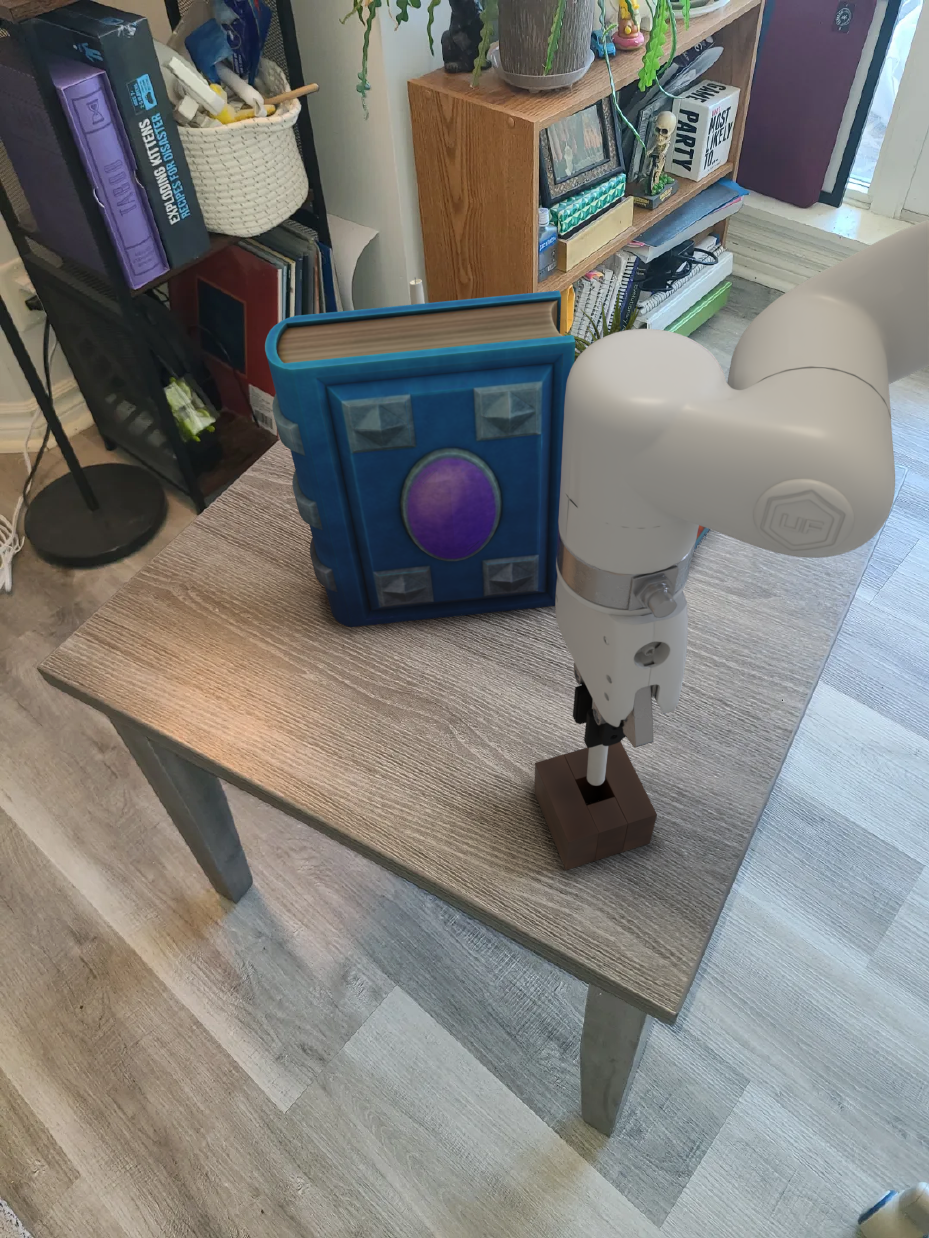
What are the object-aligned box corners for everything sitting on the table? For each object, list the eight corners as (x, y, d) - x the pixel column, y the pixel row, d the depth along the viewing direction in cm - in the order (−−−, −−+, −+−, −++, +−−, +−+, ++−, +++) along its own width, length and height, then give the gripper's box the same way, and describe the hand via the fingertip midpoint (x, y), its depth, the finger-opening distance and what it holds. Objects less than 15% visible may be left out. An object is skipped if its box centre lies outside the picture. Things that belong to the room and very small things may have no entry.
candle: (397, 391, 114) (383, 278, 102) (427, 373, 116) (416, 260, 104) (425, 408, 112) (413, 294, 100) (455, 390, 114) (447, 275, 102)
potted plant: (617, 522, 97) (634, 364, 82) (505, 484, 102) (502, 328, 87) (661, 455, 104) (685, 297, 88) (554, 422, 109) (559, 267, 93)
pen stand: (614, 768, 78) (619, 737, 74) (650, 843, 73) (657, 814, 69) (534, 792, 77) (534, 762, 73) (565, 870, 72) (568, 842, 68)
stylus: (600, 767, 71) (610, 670, 61) (607, 783, 70) (618, 687, 60) (583, 772, 70) (590, 676, 60) (590, 788, 70) (598, 693, 60)
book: (322, 641, 89) (253, 384, 65) (322, 576, 94) (259, 318, 71) (564, 616, 89) (580, 353, 66) (550, 553, 95) (560, 290, 72)
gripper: (753, 633, 46) (697, 805, 60) (629, 449, 56) (605, 634, 70) (617, 672, 45) (593, 837, 59) (515, 477, 55) (515, 659, 69)
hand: (600, 726), depth 64 cm, fingers closed on stylus, 1 cm apart
